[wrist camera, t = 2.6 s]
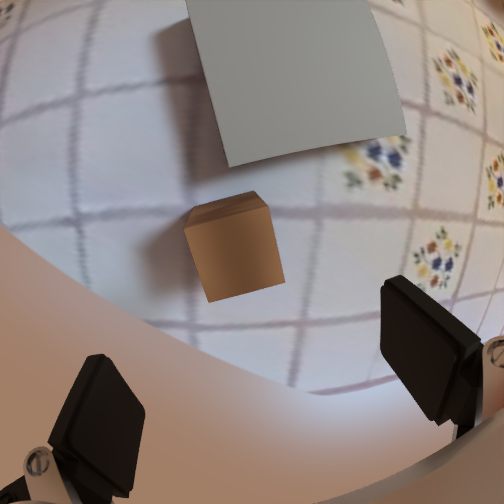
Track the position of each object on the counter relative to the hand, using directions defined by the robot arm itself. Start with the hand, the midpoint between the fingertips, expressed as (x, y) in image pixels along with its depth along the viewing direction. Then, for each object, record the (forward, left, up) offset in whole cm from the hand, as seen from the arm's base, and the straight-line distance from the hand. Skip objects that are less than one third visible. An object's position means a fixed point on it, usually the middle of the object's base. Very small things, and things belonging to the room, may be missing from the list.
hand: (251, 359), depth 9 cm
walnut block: (0, 0, -16) cm, 16 cm away
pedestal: (-8, -12, -16) cm, 22 cm away
